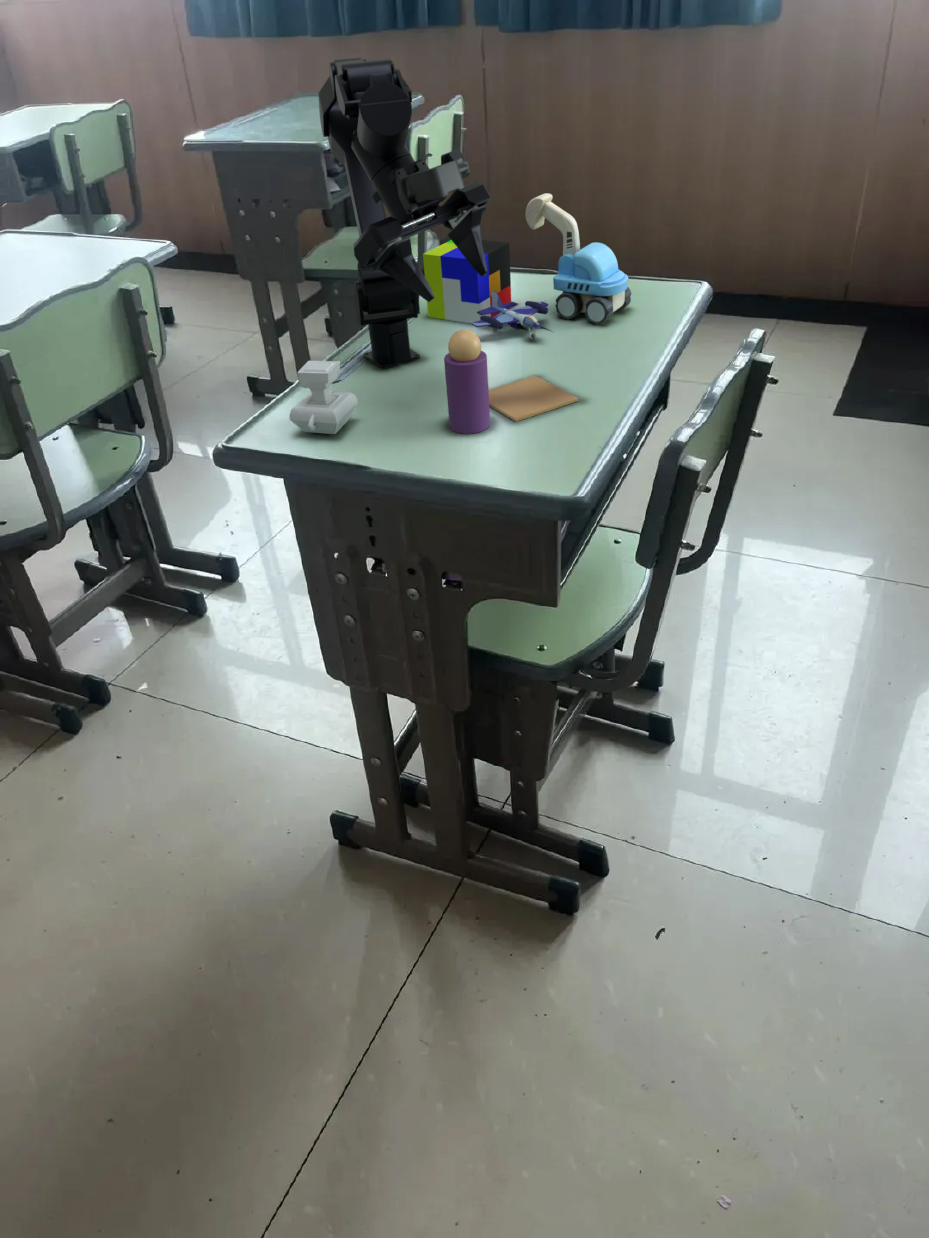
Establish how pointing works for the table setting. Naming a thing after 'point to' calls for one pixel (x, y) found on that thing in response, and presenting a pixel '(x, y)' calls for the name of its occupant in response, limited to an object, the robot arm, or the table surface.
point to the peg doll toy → (467, 384)
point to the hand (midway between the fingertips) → (458, 287)
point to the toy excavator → (581, 268)
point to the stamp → (322, 399)
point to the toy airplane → (512, 315)
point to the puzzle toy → (466, 281)
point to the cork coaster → (528, 398)
